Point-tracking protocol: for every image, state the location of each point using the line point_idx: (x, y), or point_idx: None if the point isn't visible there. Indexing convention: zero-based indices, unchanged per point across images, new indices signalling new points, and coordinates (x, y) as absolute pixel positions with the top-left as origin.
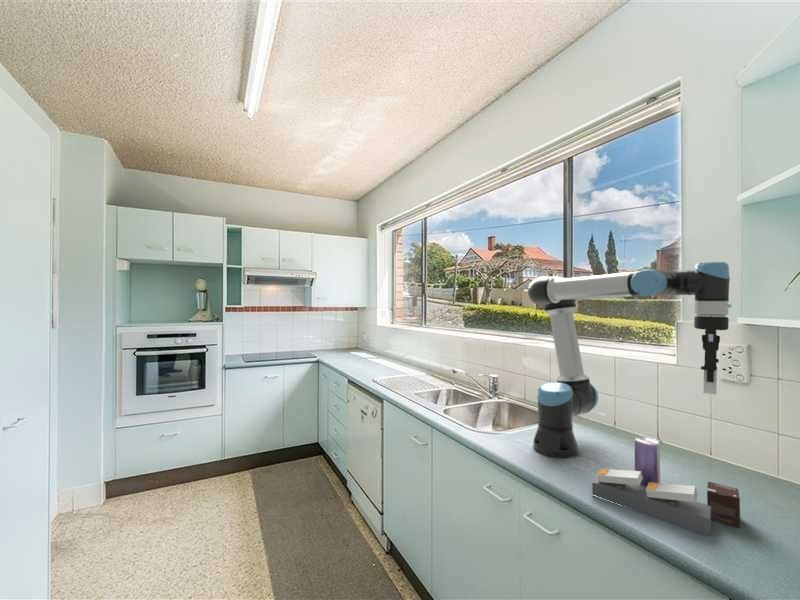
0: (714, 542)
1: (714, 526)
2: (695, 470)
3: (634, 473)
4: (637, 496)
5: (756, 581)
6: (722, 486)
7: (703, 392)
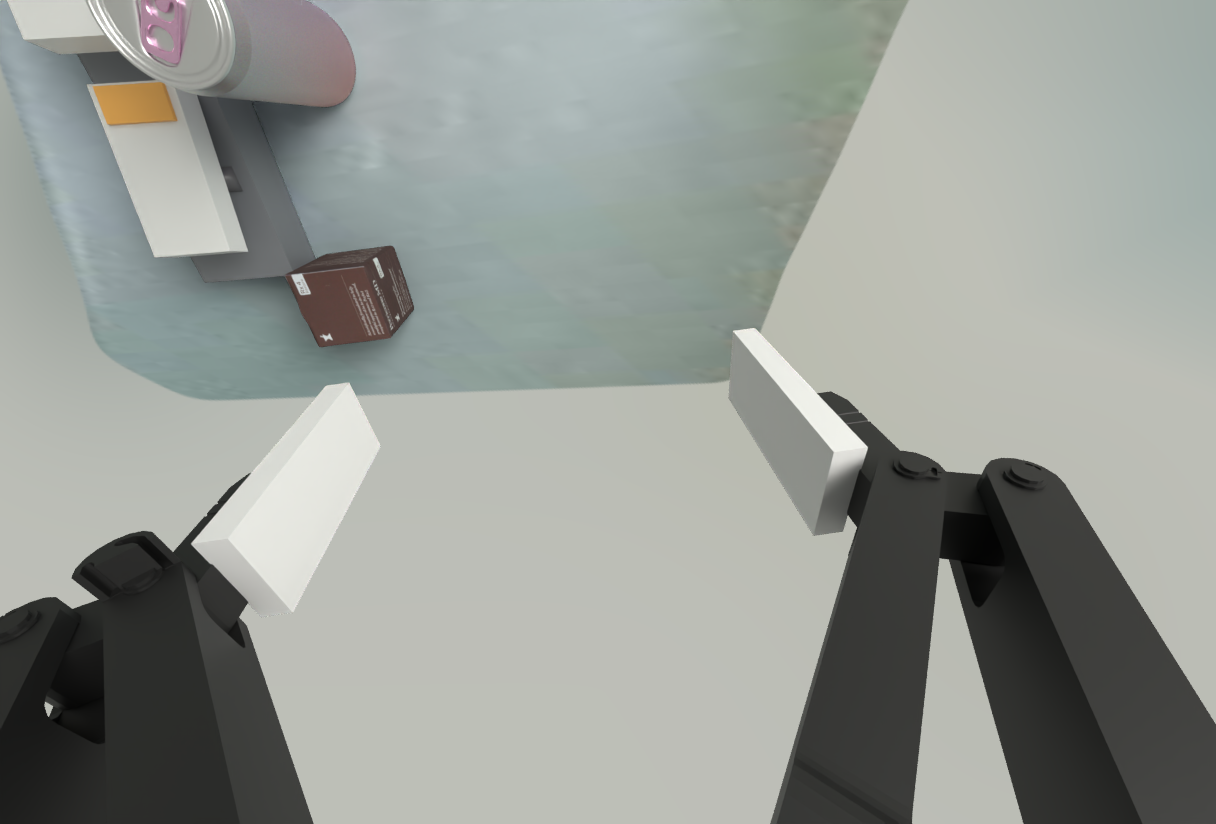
0: None
1: None
2: (659, 171)
3: (73, 8)
4: (78, 56)
5: (155, 358)
6: (365, 304)
7: (325, 387)
